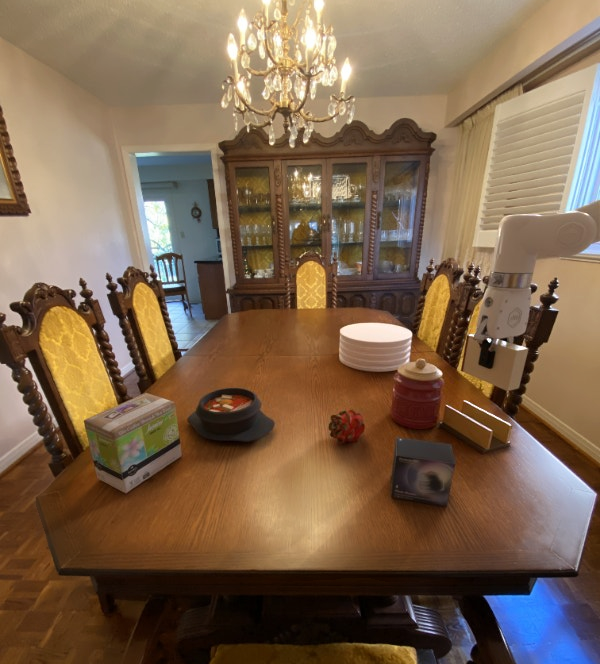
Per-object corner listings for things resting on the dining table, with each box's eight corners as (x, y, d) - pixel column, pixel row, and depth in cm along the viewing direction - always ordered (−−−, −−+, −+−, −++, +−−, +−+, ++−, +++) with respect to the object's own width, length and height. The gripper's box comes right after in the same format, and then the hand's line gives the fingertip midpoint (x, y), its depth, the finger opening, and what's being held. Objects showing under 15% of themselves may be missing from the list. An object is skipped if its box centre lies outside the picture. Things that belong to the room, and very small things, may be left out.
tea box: (127, 495, 69) (111, 432, 64) (97, 479, 74) (80, 419, 69) (184, 455, 82) (175, 399, 76) (155, 444, 86) (144, 390, 81)
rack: (464, 418, 96) (467, 399, 94) (510, 445, 84) (515, 424, 82) (439, 425, 93) (442, 405, 91) (482, 454, 81) (487, 432, 79)
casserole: (288, 422, 95) (287, 395, 92) (246, 459, 80) (244, 428, 77) (219, 402, 107) (216, 377, 104) (171, 431, 92) (166, 403, 89)
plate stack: (402, 348, 153) (405, 323, 149) (415, 372, 127) (419, 342, 123) (339, 347, 156) (339, 322, 152) (339, 370, 130) (339, 341, 126)
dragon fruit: (331, 455, 84) (352, 438, 93) (359, 445, 79) (379, 428, 89) (315, 423, 85) (338, 410, 94) (342, 411, 80) (364, 398, 89)
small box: (390, 499, 68) (395, 455, 64) (390, 478, 74) (394, 436, 70) (448, 509, 65) (456, 463, 61) (443, 485, 71) (451, 442, 67)
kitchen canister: (425, 436, 88) (434, 372, 82) (381, 418, 97) (386, 359, 90) (446, 417, 97) (456, 358, 90) (403, 402, 105) (410, 347, 99)
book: (471, 368, 84) (478, 333, 81) (519, 388, 74) (529, 348, 70) (460, 371, 83) (466, 334, 80) (507, 391, 72) (516, 350, 69)
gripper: (496, 286, 64) (478, 377, 71) (554, 280, 70) (533, 365, 77) (464, 281, 70) (450, 365, 77) (520, 276, 76) (503, 354, 83)
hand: (492, 364), depth 77 cm, fingers closed on book, 3 cm apart
